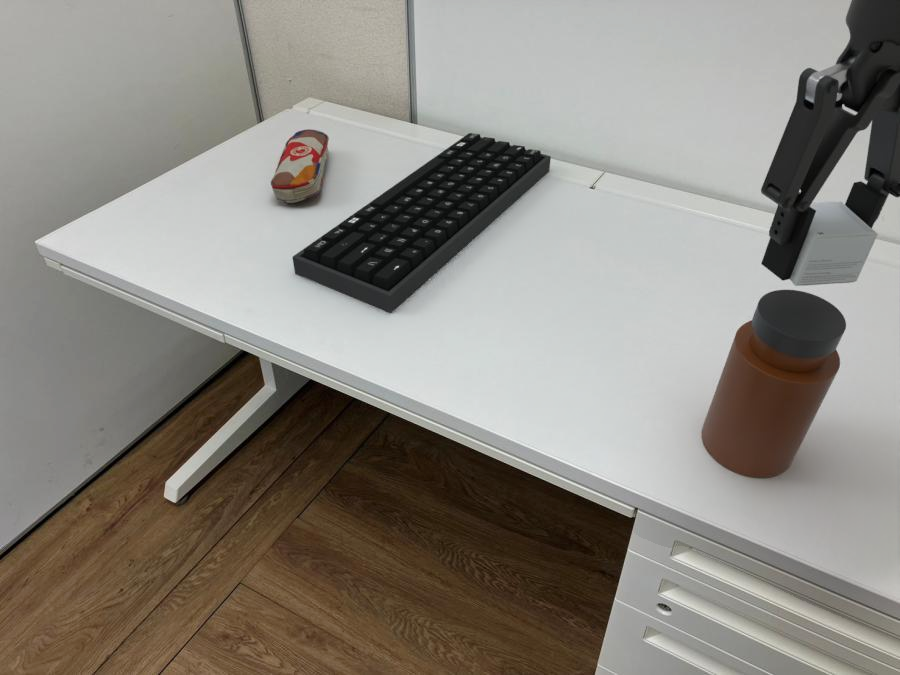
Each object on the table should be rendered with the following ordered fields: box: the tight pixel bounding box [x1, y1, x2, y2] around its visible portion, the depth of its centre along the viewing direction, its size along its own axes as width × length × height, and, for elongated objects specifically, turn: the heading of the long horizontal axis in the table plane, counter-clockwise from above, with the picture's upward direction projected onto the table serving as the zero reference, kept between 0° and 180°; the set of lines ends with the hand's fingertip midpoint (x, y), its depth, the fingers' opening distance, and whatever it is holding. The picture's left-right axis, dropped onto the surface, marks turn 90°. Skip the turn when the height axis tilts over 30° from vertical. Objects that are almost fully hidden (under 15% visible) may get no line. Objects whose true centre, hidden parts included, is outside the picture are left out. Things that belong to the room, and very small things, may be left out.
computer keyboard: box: [291, 132, 552, 314], centre depth 104 cm, size 45×16×4 cm, turn 148°
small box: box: [765, 201, 879, 287], centre depth 59 cm, size 6×6×5 cm
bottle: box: [701, 289, 847, 479], centre depth 67 cm, size 9×9×17 cm
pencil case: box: [270, 128, 330, 204], centre depth 113 cm, size 11×20×5 cm, turn 167°
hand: (808, 262), depth 61 cm, fingers closed on small box, 6 cm apart
